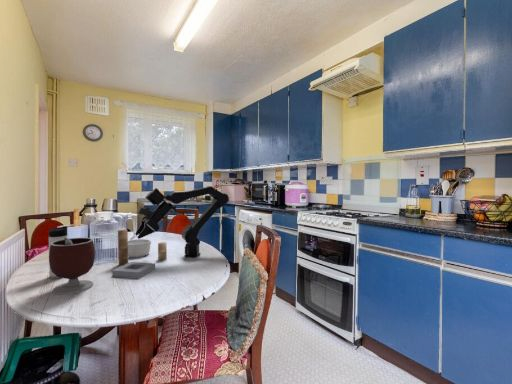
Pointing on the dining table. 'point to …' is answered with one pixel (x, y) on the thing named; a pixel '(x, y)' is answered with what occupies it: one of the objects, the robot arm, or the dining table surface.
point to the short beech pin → (162, 251)
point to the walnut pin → (123, 247)
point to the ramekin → (138, 247)
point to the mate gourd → (72, 263)
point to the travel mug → (56, 235)
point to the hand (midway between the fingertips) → (136, 236)
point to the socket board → (133, 270)
